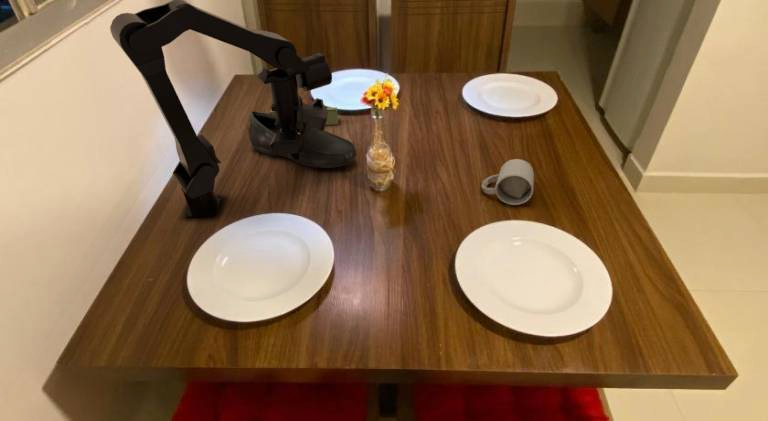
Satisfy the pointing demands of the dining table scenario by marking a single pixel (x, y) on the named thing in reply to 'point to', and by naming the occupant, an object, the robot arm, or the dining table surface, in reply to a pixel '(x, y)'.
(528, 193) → the ceramic mug
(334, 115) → the rail
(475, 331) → the dining table surface
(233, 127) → the dining table surface
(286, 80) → the robot arm
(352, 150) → the loafer
